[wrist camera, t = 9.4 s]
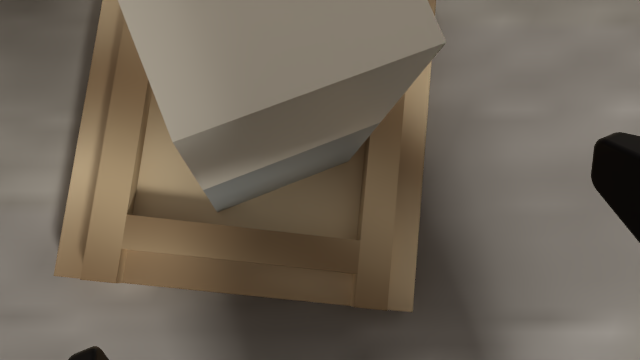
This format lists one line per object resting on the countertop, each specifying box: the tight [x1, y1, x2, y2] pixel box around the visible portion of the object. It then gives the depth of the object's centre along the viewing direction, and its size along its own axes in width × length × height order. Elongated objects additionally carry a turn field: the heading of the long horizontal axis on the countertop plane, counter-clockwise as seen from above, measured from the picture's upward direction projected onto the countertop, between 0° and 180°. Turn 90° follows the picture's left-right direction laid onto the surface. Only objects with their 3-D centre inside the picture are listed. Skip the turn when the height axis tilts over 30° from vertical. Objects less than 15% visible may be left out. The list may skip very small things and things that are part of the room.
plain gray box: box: [118, 0, 446, 212], centre depth 14 cm, size 4×4×10 cm
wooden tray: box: [54, 0, 436, 312], centre depth 19 cm, size 11×11×2 cm
